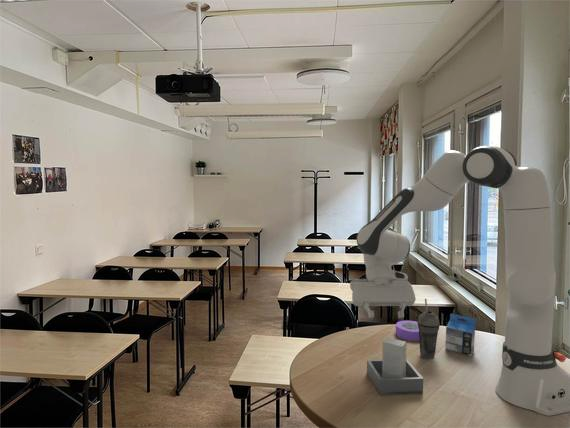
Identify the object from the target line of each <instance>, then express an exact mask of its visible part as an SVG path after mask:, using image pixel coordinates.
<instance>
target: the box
mask: <svg viewBox="0 0 570 428" xmlns="http://www.w3.org/2000/svg"><path fill="white" fill-rule="evenodd" d="M366 375H367V378H368V379H369V380H370V382H371V383H372V385H373V387H374V388H375V390H376V392H377V394H378V395H379V396H380V397H381V396H401V395H402V396H403V395H422V394H424V379H425V378H424V377H423V376H422V375H421V374H420V373H419V371H418V370H417V369H416V368H415V367H414V365H413V364H412V363H411V362H410V361H409V360H408V358H406V378H388V379H382V359H367V360H366Z"/></svg>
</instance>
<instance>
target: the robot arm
mask: <svg viewBox="0 0 570 428" xmlns="http://www.w3.org/2000/svg"><path fill="white" fill-rule="evenodd" d="M469 182H471V183H473V184H475V185H477V186H482V187H486V188H492V189H499V191H500V193H501V195H502V204H503V205H502V206H503V207H502V208H503V222H504V235H505V237H504V238H505V244H504V245H505V247H504V253H505V254H504V263H505V267H504V270H505V271H504V272H505V285H506V286H505V287H506V289H507V292H508V298H507V306H506V307H507V308H506V316H505V330H504V331H505V332H504V334H505V335H504V342H502V343H503V344H502V352H501V353H502V354H501V357H502V359H501V360H502V366H501V370H500V376H499V379H498V382H497V385H496V387H495V392H496V393H497V395H498V396H499V397H500V398H501V399H503V400H504V401H506V402H508V403H509V404H512V405H514V406H516V407H519V408H523V409H526V410H531V411H534V412H536V413H538V414H542V415H545V416H548V417H549V416H554V415H555V416H556V415H559V414H560V415H561V414H564V413H570V412H569V411H570V373H569V372H568V371H567V370H565V369H564V367H561V366H560V365H559V364H558V363H557V361H556V360H558V361H559V362H560V363H564V362H566V359H567V357H566V355H564V354H562V353H561V352H556V351H555V350H554V349H552V342H553V330H554V328H553V327H554V311H555V297H556V296H555V294H556V281H557V274H556V270H555V260H554V258H555V257H554V235H553V224H552V223H553V221H552V207H551V205H552V204H551V197H550V192H549V191H550V190H549V187H548V186H549V185H548V183H547V179H546V175H545V174H544V172H543V171H542V170H540V169H539V168H537V167H532V166H518V165H517V160H516V158H515V156H514V155H513V153H511V152H510V151H509V150H506V149H503V148H502V147H499V146H493V145H482V146H477V147H475V148H473V149H471V150H470V151H469V152H468V153H467V154H465V153H463V152H461V151H458V150H448V151H445V152H444V153H442V155H440V156H439V158H438V159H437V160H436V161H435V162H434V163H432V165H431V166H430V167H429V168H428V170H427V171H426V172H425V174H424V175H423V176H422V178H421V177H420V179H419V180H418V181H417V182H416V183H414V184H413V185H411V186H409V187H407V188H403V189H402V190H401V191H399V192H398V193H397V194H396V195H395V196H394V197H393V198H392V199H391V200H389V202H388V203H387V204H386V205H385V206H384V207H383V208H382V209H381V210H380V211H379V213H377V215H376V216H375V217H373V219H371V220H370V221H369V222H368V223H366V224H364V226H362V227H361V228H360V230H358V233H357V235H356V244H357V247H358V249H359V251H360V252H361V253H362V254H363V261H364V265H365V277H366V278H355V279H352V280H350V282H349V285H350V286H349V287H350V290H351V291H352V294H351V298H352V299H351V301H352V304H353V306H355V307H363V309H364V310H365V311H366V313H367V314H368V315H367V316H368V318H369V319H374V317H375V311H374V310H371V308H370V307H399V309H400V310H398V312H397V317H398V319H404V317H405V308H406V307H412V306H413V305H414V304H415V302H416V298H417V297H416V294H415V291H414V288H413V286H412V283H410V282H409V281H408V280H409V279H408V278H409V277H408V274H406V273H404V272H401V271H397V270H394V269H392V267H393V266H395V265H398V264H400V263H401V262H403V261H405V259H407V258H408V256H409V254H410V251H411V243H410V239H409V238H408V237H407V236H406V235H404V234H401V233H399V232H396V231H392V230H389V228H390V227H392V226H393V224H394V223H396V221H398V220H399V218H401V217H402V216H404V215H406V214H408V213H412V212H436V211H441V210H442V209H444V208H445V207H447V205H449V204H450V203H451V201H452V200H453V199H454V198H455V197H456V195H457V194H458V193H459V192H460V190H461V189H462V188H463V187H464V186H465V185H466V184H467V183H469Z"/></svg>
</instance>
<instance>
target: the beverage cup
mask: <svg viewBox="0 0 570 428" xmlns="http://www.w3.org/2000/svg"><path fill="white" fill-rule="evenodd" d="M427 301H428V300H427V298H425V299H424V305H425V311H423V312H422V313H421V314H419V316H418V319H417V321H416V322H417V323H418V329H419V353H420V357H421V358H423V359H425V360H434V359H435V354H436V350H437V348H436V347H437V342H438V341H437V340H438V334H439V329H440V326H441V324H440V319H439V317H438V316H437V314H436V313H435V312H432V311H428V304H427Z"/></svg>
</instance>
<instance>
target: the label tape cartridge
mask: <svg viewBox="0 0 570 428" xmlns="http://www.w3.org/2000/svg"><path fill="white" fill-rule="evenodd" d="M462 319H463V320H464V321H463V320H462ZM475 334H476V318H472V317H468V316H463V315H459V314H455V313H450V314H449V321H448V322H447V325H446V327H445V350H447V351H450V352H454V353H458V354H462V355H465V356H469V357H472V356H473V355H474V353H475V338H476V337H475V336H476V335H475ZM472 354H473V355H472Z"/></svg>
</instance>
